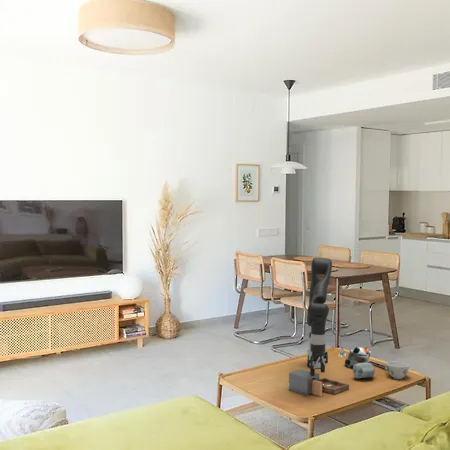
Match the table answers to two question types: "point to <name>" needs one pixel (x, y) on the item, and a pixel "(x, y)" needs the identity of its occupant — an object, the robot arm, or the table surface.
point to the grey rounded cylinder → (363, 370)
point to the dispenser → (301, 381)
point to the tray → (333, 386)
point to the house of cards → (342, 352)
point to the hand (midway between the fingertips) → (317, 373)
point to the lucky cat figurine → (357, 356)
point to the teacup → (397, 369)
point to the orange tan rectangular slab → (316, 387)
